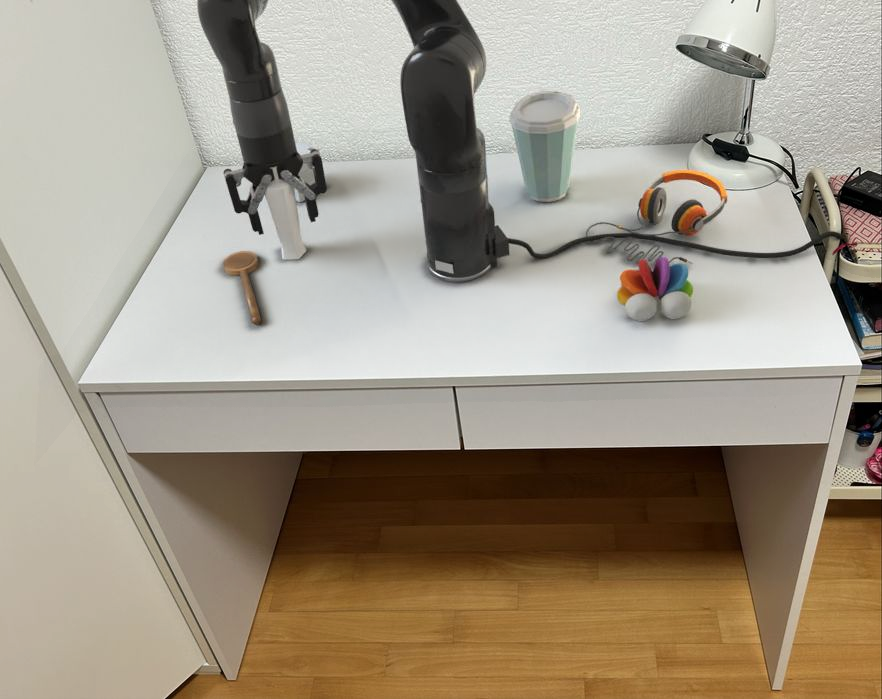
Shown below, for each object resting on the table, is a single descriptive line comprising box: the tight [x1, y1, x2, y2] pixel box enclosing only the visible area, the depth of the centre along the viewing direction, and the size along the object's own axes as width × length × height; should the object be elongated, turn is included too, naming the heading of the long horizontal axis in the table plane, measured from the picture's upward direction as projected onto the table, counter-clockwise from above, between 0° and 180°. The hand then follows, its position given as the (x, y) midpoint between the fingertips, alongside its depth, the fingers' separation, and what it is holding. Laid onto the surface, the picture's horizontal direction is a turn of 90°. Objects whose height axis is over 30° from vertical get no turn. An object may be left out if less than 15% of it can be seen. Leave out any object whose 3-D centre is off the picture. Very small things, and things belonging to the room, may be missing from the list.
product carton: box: [294, 139, 321, 203], centre depth 143 cm, size 6×6×7 cm
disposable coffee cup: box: [508, 90, 582, 203], centre depth 134 cm, size 11×11×15 cm
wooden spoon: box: [222, 250, 262, 325], centre depth 125 cm, size 18×5×1 cm, turn 18°
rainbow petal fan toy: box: [616, 256, 694, 322], centre depth 112 cm, size 8×10×7 cm
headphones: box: [585, 169, 728, 267], centre depth 126 cm, size 17×5×20 cm
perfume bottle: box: [264, 166, 307, 261], centre depth 127 cm, size 5×4×15 cm
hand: (286, 225), depth 129 cm, fingers open, 7 cm apart
